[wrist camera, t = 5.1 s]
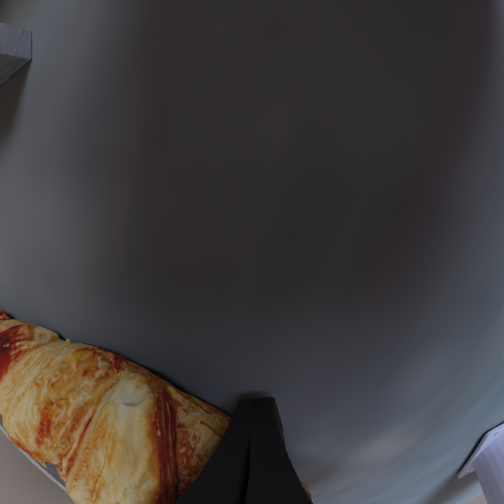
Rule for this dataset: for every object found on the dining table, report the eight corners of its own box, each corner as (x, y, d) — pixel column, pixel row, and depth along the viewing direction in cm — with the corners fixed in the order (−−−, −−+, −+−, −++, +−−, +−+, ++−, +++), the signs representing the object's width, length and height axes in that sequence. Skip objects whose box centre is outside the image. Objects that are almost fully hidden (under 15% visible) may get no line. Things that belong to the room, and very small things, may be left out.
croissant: (16, 305, 15) (-37, 393, 10) (-33, 207, 8) (-127, 343, 2) (283, 452, 17) (249, 544, 12) (393, 443, 10) (347, 592, 4)
